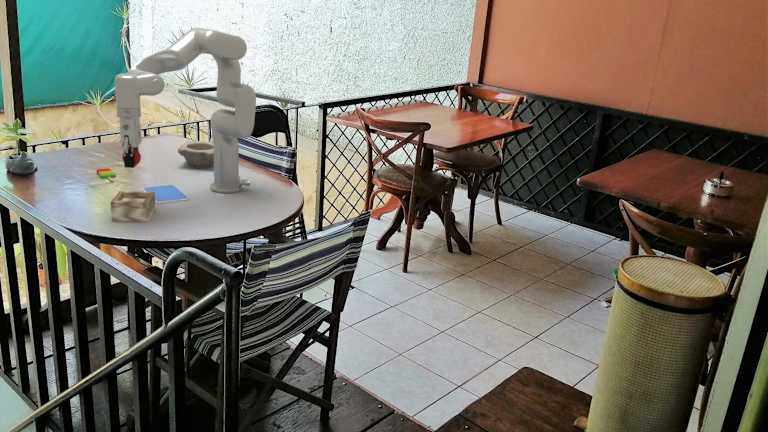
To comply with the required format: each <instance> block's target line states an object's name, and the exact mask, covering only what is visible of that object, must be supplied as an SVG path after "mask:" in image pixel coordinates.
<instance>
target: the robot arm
mask: <svg viewBox="0 0 768 432" xmlns="http://www.w3.org/2000/svg"><path fill="white" fill-rule="evenodd" d="M247 50H248V48H247V43H246V41H245V39H243V38H242V37H240V36H239V35H235V34H234V35H233V34H230V33H225V32H221V31H219V30H215V29H211V28H203V27H193V28H190V29H188V31H186V32H185V33H184V34H183V35H182V36H180V37H179V38H178V39H177V40H176V41H174V42H173V43H172V44H171V45H169V46H168V47H166V48H165V49H163V50H160V51H158V52H155V53H152V54H150V55H149V56H146V57H143V58H142V59H141V60H139V61H138V62H136V63H135V64H134V65H132V67H131V68H130V69H128V71H127V72H125V73H119V74H116V75H115V76H114V91H115V92H114V93H115V107H116V118H118V119H119V133H120V134H119V137H120V138H119V139H120V146H121V147H122V148H123V153H124V161H123V163H124V167H125V168H130V169H134V168H135V167H136V166H135V162H134V156H133V148H135V149H136V150H138V152H139V145H141V143H142V141H143V136H142V126H141V125H142V124H141V119H140V118H141V117H142V111H141V110H142V109H141V107H142V106H141V96H149V97H150V96H151V97H153V96H157V95H160V94H162V92H163V91H164V89H165V81H164V79H163V77H162V76H160V74H165V73H170V72H178V71H181V70H184V69H185V68H187V66H189V65H190V64H191V63H192V62H193V61H195V60H196V58H197V57H199V56H200V55H202V54H206V55H211V56H212V58H213V59H214V61H215V63H216V65H217V80H216V81H217V83H216V94H215V95H216V100H217V102H218V103H219V104H220V105H222V106H225V107H229V108H234V109H235V110H231V109H225V108H220V109H217V110H215V111H214V112H213V113H212V114H211V116H210V121H209V122H210V128H211V133H212V139H213V142H212V143H214V165H213V182H212V183H211V184H210V185H209V189H210V190H211V191H213V192H215V193H219V194H220V193H221V194H233V193H237V192H240V191H242V190H243V187H244V186H245V187H246V186H249V187H250V186H251V181H250V180H248V179H242V178H241V176H240V175H239V166H240V165H239V163H240V161H239V155H240V154H239V150H240V149H239V141H238V139H242V140H243V139H247V138H249V137H250V136H251V135H252V134H253V131H254V127H255V119H256V107H257V106H256V105H257V97H256V96H257V95H256V92H255V90H254V89H253V88H252V87H251V85H249V84H246V83H241V81H242V80H241V78H242V74H241V73H242V68H241V63H240V61H239V60H242V59H243V58H244V57H245V55H246V54H247ZM130 145H131V147H129V146H130ZM129 149H131V152H130V150H129ZM139 153H140V152H139Z"/></svg>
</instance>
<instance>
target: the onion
mask: <svg viewBox="0 0 768 432" xmlns="http://www.w3.org/2000/svg"><path fill="white" fill-rule="evenodd" d="M128 147H131V145H130V146H129V145H128ZM129 150H130V152H131V149H129ZM138 151H139V149H138V150H136V149H135V148H133V156H134V162H135V167H136V166H138V165H139V164H140V162H141V160H142V156H141V154H140V153H141V152H138ZM121 156H122V157H121V159H122V161H123V162H124V152H123V153H122V155H121Z"/></svg>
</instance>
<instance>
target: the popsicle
mask: <svg viewBox="0 0 768 432" xmlns="http://www.w3.org/2000/svg"><path fill="white" fill-rule="evenodd" d="M96 174H97V176H98V177H99V178H100V179H101V180H105V179H108V180H109V181H110V182H111V183H112V182H114V179H115V178H117V175H116V173H115V172H113V170H112V169H111V168H101V169H96Z"/></svg>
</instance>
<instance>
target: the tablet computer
mask: <svg viewBox="0 0 768 432" xmlns="http://www.w3.org/2000/svg"><path fill="white" fill-rule="evenodd" d="M141 190H142V192H155V205H163V204H171V203H178V202H179V203H180V202H186V201H190V197H188V195H186V194H185V193H184V192H183V191H182V190H180V189H179V188H178V187H177V186H175V185H174V184H168V185H167V184H166V185H158V186H148V187H147V186H146V187H142V188H141Z"/></svg>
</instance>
